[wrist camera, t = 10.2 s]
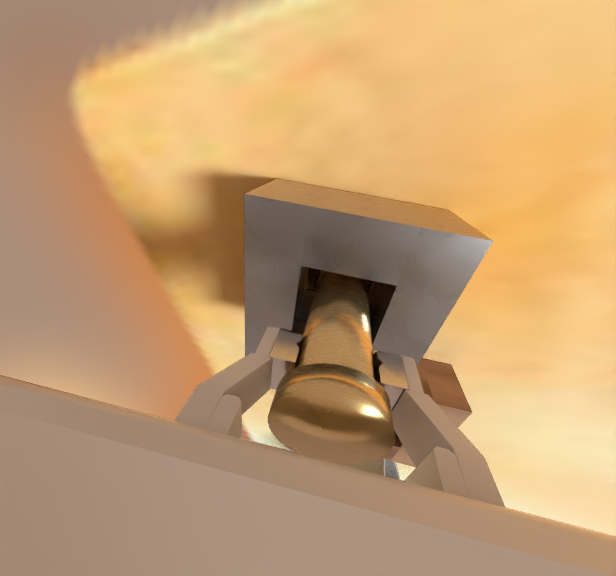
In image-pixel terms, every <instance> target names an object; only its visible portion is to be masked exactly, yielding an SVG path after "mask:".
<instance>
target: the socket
mask: <svg viewBox="0 0 616 576" xmlns="http://www.w3.org/2000/svg"><path fill="white" fill-rule="evenodd" d="M244 222H245V356H247V355H249V354H250V353H254V354H255V352H256V350H257V348H258V346H259V344H260V342H261V340H262V338H263V336H264V333H265V331H266V329H267V327H268V326H269V325H270V326H274V327H278V328H283V329H287V330H291V331H295V332H299V333H303V335H304V331H305V327H306V324H307V320H308V316H309V312H310V309H311V305H312V301H313V297H314V294H315V291H311V290H306V287H307V281H308V275H309V269H310V268H314V269H318V270H323V271H328V272H333V273H338V274H343V275H347V276H352V277H357V278H362V279H367V280H371V281H373V282H372V284H371V287H370V290H369V293H368V304H369V315H370V327H371V338H372V349H373V352H374V351H375V350H378V351H383V352H387V353H392V354H397V355H402V356H406V357H411V358H413V359H414V360H415V363H416V367H417V366H418V364H419V363H420V361H421V359H422V358H423V356H424V354H425V353H426V351H427V349H428V348H429V346H430V344H431V343H432V341H433V339H434V338H435V336H436V335H437V333H438V331H439V330H440V328H441V326H442V325H443V323H444V321H445V320H446V318H447V316H448V315H449V313H450V311H451V310H452V308H453V307H454V305H455V303H456V302H457V300H458V298H459V297H460V295H461V293H462V292H463V290H464V288H465V287H466V285H467V283H468V282H469V280H470V279H471V277H472V275H473V274H474V272H475V270H476V269H477V267H478V265H479V264H480V262H481V260H482V259H483V257H484V255H485V254H486V252H487V251H488V249H489V247H490V246H491V244H492V242H493V241H492V240H491V239H490V238H488V237H487V236H485V235H484V234H482V233H481V232H480V231H478V230H477V229H475V228H474V227H472V226H471V225H470V224H468V223H467V222H465V221H464V220H462V219H461V218H460V217H458V216H457V215H455V214H454V213H452V212H451V211H450V210H446V209H440V208H435V207H429V206H424V205H419V204H413V203H408V202H402V201H397V200H392V199H386V198H381V197H375V196H370V195H364V194H359V193H354V192H348V191H343V190H337V189H332V188H327V187H321V186H316V185H310V184H305V183H299V182H294V181H289V180H283V179H275V180H273V181H271V182H269V183H267V184H264V185H262V186H260V187H258V188H256V189H253V190H251V191H249V192H247V193H245V194H244Z"/></svg>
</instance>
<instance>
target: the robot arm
mask: <svg viewBox="0 0 616 576" xmlns="http://www.w3.org/2000/svg"><path fill="white" fill-rule="evenodd" d="M302 340H303V333H299V332H295V331H291V330H287V329H283V328H278V327H274V326H270V325H269V326H268V327H267V329H266V331H265V333H264V336H263V338H262V340H261V342H260V344H259V346H258V348H257V350H256V352H255V354H254V353H250V354H249V355H247V356H245V357H244V358H242V359H240V360H239V361H237V362H235V363H234V364H232V365H230V366H229V367H227V368H225V369H224V370H222V371H221V372H219V373H217V374H216V375H214V376H212V377H211V378H209V379H207V380H206V381H204V382H202V383H201V384H199V385H198V386H197V387H196V389H195V390H194V392H193V393H192V395H191V396H190V398H189V399H188V401H187V402H186V404H185V405H184V407H183V409H182V410H181V412H180V413H179V414H178V416H177V418H176V419H175V421H173V420H169V419H166V418H161V417H157V416H154V415H150V414H146V413H142V412H139V411H135V410H131V409H128V408H123V407H120V406H116V405H112V404H108V403H105V402H101V401H97V400H93V399H89V398H86V397H82V396H78V395H74V394H70V393H67V392H63V391H59V390H55V389H51V388H48V387H44V386H40V385H36V384H32V383H29V382H25V381H21V380H17V379H13V378H9V377H6V376H2V375H0V576H616V536H612V535H609V534H605V533H601V532H597V531H593V530H589V529H586V528H582V527H578V526H574V525H570V524H566V523H563V522H559V521H555V520H551V519H547V518H544V517H540V516H536V515H532V514H528V513H524V512H521V511H517V510H513V509H509V508H505V506H504V503H503V501H502V498H501V496H500V494H499V491H498V489H497V486H496V484H495V482H494V479H493V477H492V474H491V472H490V470H489V467H488V465H487V462H486V460H485V458H484V456H483V455H482V454H481V453H480V452H479V451H478V450H477V449H476V447H475V446H474V445H473V444H472V443H471V442H470V441H469V440H468V439H467V437H466V436H465V435H464V434H463V433H462V432H461V431H460V430H459V429H458V427H457V426H456V425H455V424H454V423H453V422H452V421H451V420H450V418H449V417H448V416H447V415H446V414H445V413H444V412H443V411H442V410H441V408H440V407H439V406H438V405H437V404H436V403H435V402H434V401H433V400H432V398H431V397H430V396H429V395H427V394H424V391H423V388H422V384H421V381H420V377H419V374H418V370H417V367H416V363H415V360H414V359H413V358H411V357H406V356H402V355H397V354H392V353H387V352H383V351H378V350H375V351H374V352H373V360H374V372H375V380H376V381H377V382H378V383H379V384H380V385H381V386H382V387H383V388H384V389H385V391H386V392H387V394H388V396H389V399H390V404H391V411H392V418H393V425H394V430H395V432H396V434H397V435H398V437H399V439H400V441H401V442H402V444H403V446H404V448H405V449H406V451H407V453H408V455H409V457H410V458H411V460H412V462H413V464H414V465H415V467H416V469H415V470H414V471H413V472H412V473H411V474H410V475H409V476H408V477H407V478H406V479H405V481H402V480H399V479H395V478H391V477H387V476H383V475H380V474H376V473H372V472H368V471H364V470H361V469H357V468H353V467H349V466H345V465H342V464H338V463H334V462H330V461H326V460H322V459H319V458H315V457H311V456H307V455H303V454H299V453H296V452H292V451H288V450H284V449H280V448H277V447H273V446H269V445H265V444H261V443H257V442H254V441H250V440H246V439H242V414H243V413H244V412H245V411H247V410H248V409H249V408H250V407H251V406H252V405H253V404H254V403H255V402H256V401H258V400H259V399H260V398H261V397H262V396H263V395H264V394H265V393H266V392H267V391H268V390H270V388H271V389H276V390H277V386H278V384H279V382H280V380H281V379H282V377H283V376H284V375H285V374H287V373H288V372H290V371H291V370H293V369H295V366H296V363H297V359H298V354H299V351H300V348H301V344H302Z"/></svg>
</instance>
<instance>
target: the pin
mask: <svg viewBox="0 0 616 576" xmlns="http://www.w3.org/2000/svg"><path fill="white" fill-rule="evenodd" d="M268 424H269V427H270V429H271V431H272V433H273V434H274V436H275V437H276V438H277V439H278V440H279V441H280V442H281V443H283V444H284V445H285V446H287V447H288V448H290V449H291V450H293V451H295V452H297V453H299V454H303V455H307V456H311V457H315V458H319V459H322V460H326V461H330V462H334V463H338V464H361V463H367V462H371V461H374V460H377V459H379V458H381V457H383V456H385V455H386V454H387V453H388V452H389V451H390V450H391V449H392V447H393V445H394V442H395V433H394V425H393V418H392V411H391V404H390V399H389V396H388V394H387V392H386V391H385V389H384V388H383V387H382V386H381V385H380V384H379V383H378V382H377V381H376V380H375V372H374V360H373V349H372V338H371V327H370V315H369V304H368V293H367V282H366V279H362V278H357V277H352V276H347V275H343V274H338V273H333V272H328V271H323V270H321V271H320V275H319V279H318V282H317V286H316V290H315V294H314V297H313V301H312V305H311V309H310V312H309V316H308V320H307V324H306V327H305V331H304V335H303V340H302V344H301V348H300V351H299V354H298V359H297V363H296V366H295V369H293V370H291V371H290V372H288V373H287V374H285V375H284V376H283V377H282V379H281V380H280V382H279V384H278V386H277V390H276V393H275V396H274V399H273V402H272V405H271V408H270V412H269V415H268Z"/></svg>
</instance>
